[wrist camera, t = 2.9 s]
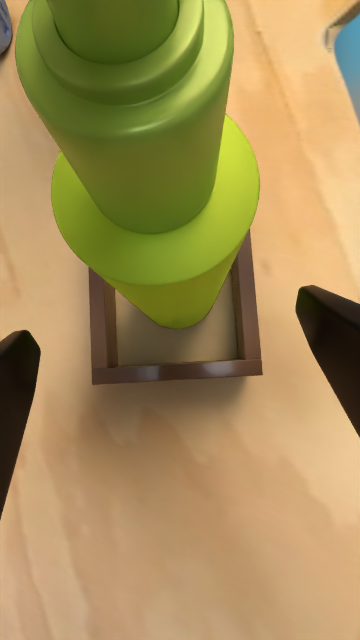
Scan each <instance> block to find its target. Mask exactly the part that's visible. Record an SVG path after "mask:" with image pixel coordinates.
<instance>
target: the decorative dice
mask: <svg viewBox="0 0 360 640" xmlns="http://www.w3.org/2000/svg"><path fill="white" fill-rule="evenodd" d="M11 36H12V27H11V20H10V15H9V11H8V8H7V5H6V2H5V0H0V54H2V53H3V52H4V51H5V50H6V49H7V47H8V46H9V44H10V41H11Z"/></svg>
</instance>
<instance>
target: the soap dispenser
mask: <svg viewBox="0 0 360 640" xmlns="http://www.w3.org/2000/svg"><path fill="white" fill-rule="evenodd" d="M233 53H234V32H233V24H232V19H231V15H230V12H229V9H228V6H227V4H226V2H225V0H30V1H29V2H28V4H27V6H26V8H25V10H24V12H23V14H22V17H21V19H20V22H19V26H18V30H17V36H16V46H15V58H16V66H17V71H18V75H19V78H20V81H21V83H22V86H23V88H24V90H25V93H26V95H27V97H28V99H29V100H30V102H31V104H32V105H33V107H34V109H35V110H36V112H37V114H38V115H39V117H40V118H41V120H42V122H43V123H44V125H45V126H46V128H47V129H48V131H49V132H50V134H51V136H52V137H53V139H54V140H55V142H56V143H57V145H58V147H59V148H60V150H61V151H60V153H59V156H58V158H57V161H56V164H55V168H54V171H53V177H52V185H51V199H52V207H53V212H54V216H55V219H56V222H57V225H58V228H59V230H60V232H61V234H62V236H63V238H64V239H65V241H66V242H67V244H68V245H69V247H70V248H71V249H72V251H73V252H74V253H75V254H76V255H77V256H78V257H79V258H80V259H81V260H82V261H83V262H84V263H85V264H86V265H88V266H89V267H90V268H91V269H92V270H94V271H95V272H96V273H97V274H98V275H100V276H101V277H102V278H103V279H104V280H105V281H107V282H108V283H109V284H110V285H111V286H113V287H114V288H115V289H116V290H117V291H118V292H120V293H121V294H122V295H123V296H124V297H126V298H127V299H128V300H129V301H130V302H131V303H133V304H134V305H135V306H136V307H137V308H139V309H140V310H141V311H142V312H143V313H144V314H146V315H147V316H148V317H149V318H150V319H152V320H153V321H154V322H156V323H157V324H159V325H161V326H164V327H167V328H174V329H180V328H186V327H189V326H192V325H194V324H196V323H198V322H199V321H201V320H202V319H203V318H204V317H205V316H206V315H207V314H208V313H209V311H210V310H211V308H212V306H213V304H214V302H215V299H216V297H217V295H218V293H219V291H220V289H221V287H222V285H223V283H224V281H225V278H226V276H227V274H228V272H229V270H230V268H231V266H232V264H233V262H234V260H235V258H236V255H237V253H238V251H239V249H240V247H241V245H242V243H243V241H244V239H245V237H246V234H247V232H248V230H249V228H250V226H251V224H252V221H253V219H254V216H255V213H256V209H257V205H258V200H259V191H260V180H259V170H258V165H257V161H256V158H255V155H254V152H253V149H252V147H251V145H250V143H249V141H248V139H247V138H246V136H245V135H244V133H243V132H242V130H241V129H240V128H239V127H238V125H237V124H236V123H235V122H234V121H233V120H232V119H231V118H230V117H229V116H228V115H227V114H225V111H226V104H227V98H228V91H229V84H230V77H231V70H232V62H233Z"/></svg>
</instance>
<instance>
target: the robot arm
mask: <svg viewBox="0 0 360 640" xmlns="http://www.w3.org/2000/svg"><path fill="white" fill-rule="evenodd" d="M296 314H297V317H298V319H299V322H300V324H301V327H302V329H303V332H304V334H305V337H306V339H307V341H308V344H309V346H310V349H311V351H312V353H313V355H314V357H315V359H316V360H317V362H318V364H319V366H320V367H321V369H322V371H323V373H324V375H325V376H326V378H327V380H328V382H329V384H330V385H331V387H332V389H333V391H334V393H335V394H336V396H337V398H338V400H339V401H340V403H341V405H342V407H343V409H344V410H345V412H346V414H347V416H348V418H349V419H350V421H351V423H352V425H353V427H354V428H355V430H356V432H357V434H358V435H359V437H360V304H358V303H356V302H353V301H351V300H348V299H346V298H344V297H341V296H339V295H336V294H334V293H332V292H329V291H327V290H324V289H322V288H319V287H317V286H315V285H310V286H303V287H301V288H300V289H299V291H298V296H297V302H296ZM40 355H41V351H40V347H39V345H38V344H37V342H36V341H35V339H34V338H33V336H32V335H31V333H30V332H29V331H27V330H21V331H15V332H13V333H11V334H10V335H8V336H7V337H6V338H4V339H3V340H2V341H0V519H1V515H2V512H3V508H4V504H5V501H6V497H7V493H8V490H9V486H10V482H11V479H12V475H13V471H14V468H15V464H16V460H17V457H18V453H19V449H20V446H21V442H22V438H23V435H24V431H25V427H26V424H27V420H28V416H29V413H30V409H31V405H32V402H33V398H34V393H35V388H36V382H37V375H38V368H39V362H40Z"/></svg>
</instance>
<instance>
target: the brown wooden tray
mask: <svg viewBox="0 0 360 640" xmlns="http://www.w3.org/2000/svg"><path fill="white" fill-rule="evenodd" d="M231 270H232V282H233V295H234V307H235V319H236V332H237V344H238V356H239V359H232V360H216V361H199V362H182V363H165V364H149V365H132V366H118V364H117V338H116V311H115V288H114V287H113V286H111V285H110V284H109V283H108V282H107V281H105V280H104V279H103V278H102V277H101V276H100V275H98V274H97V273H96V272H95V271H94V270H92V269H91V268H90V267H89V293H90V328H91V362H92V385H100V384H117V383H134V382H151V381H169V380H186V379H203V378H220V377H238V376H255V375H263V372H262V361H261V350H260V339H259V327H258V316H257V305H256V294H255V283H254V271H253V260H252V249H251V238H250V228H249V230H248V232H247V234H246V237H245V239H244V241H243V243H242V245H241V247H240V249H239V251H238V253H237V255H236V258H235V260H234V262H233V264H232V266H231Z"/></svg>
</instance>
